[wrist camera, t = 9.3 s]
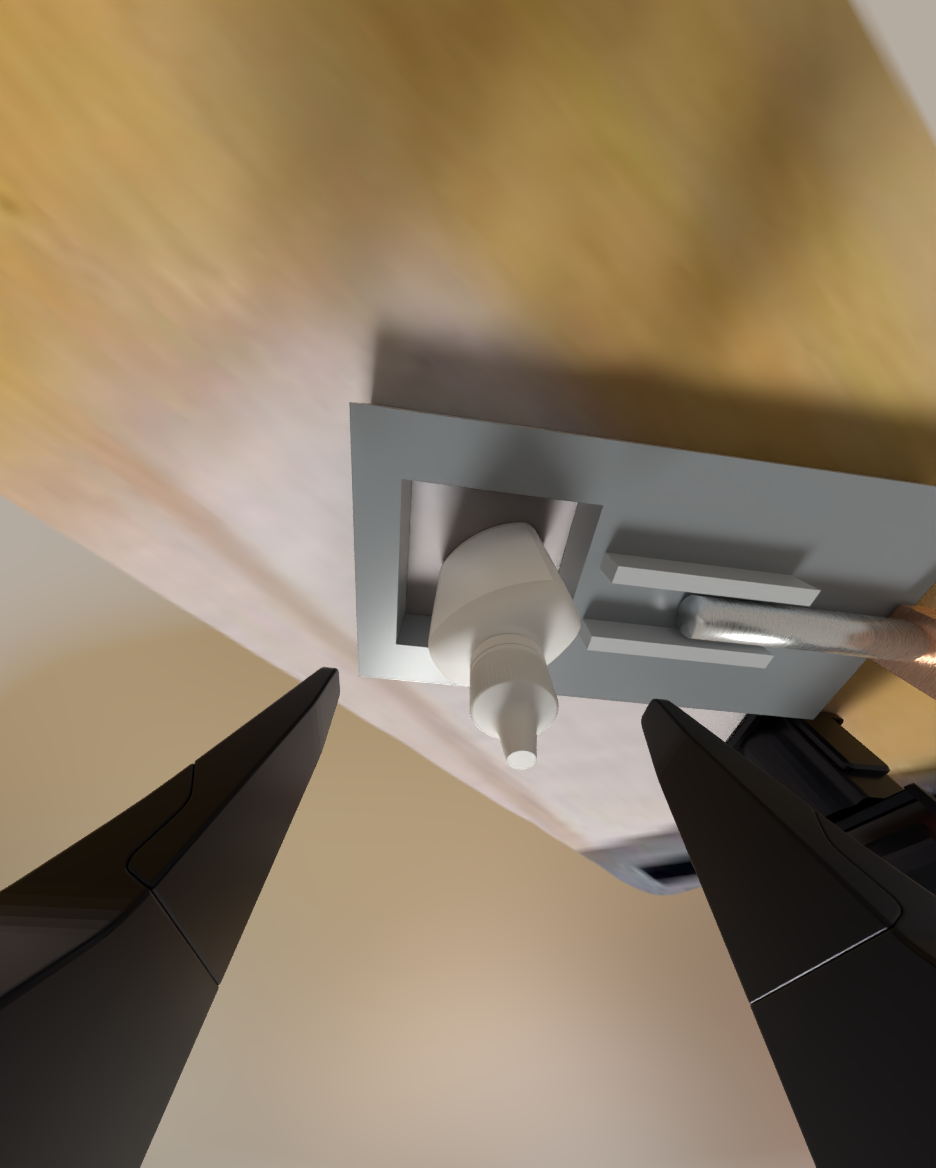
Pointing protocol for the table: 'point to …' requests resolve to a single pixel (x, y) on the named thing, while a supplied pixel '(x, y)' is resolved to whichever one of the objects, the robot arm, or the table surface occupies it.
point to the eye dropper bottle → (503, 633)
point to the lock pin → (822, 633)
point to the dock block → (646, 554)
